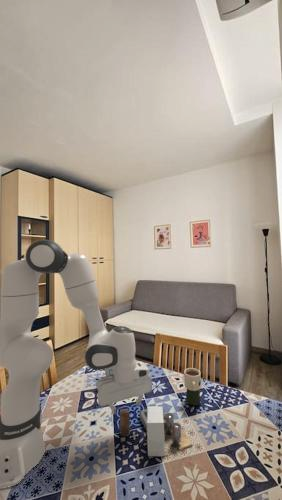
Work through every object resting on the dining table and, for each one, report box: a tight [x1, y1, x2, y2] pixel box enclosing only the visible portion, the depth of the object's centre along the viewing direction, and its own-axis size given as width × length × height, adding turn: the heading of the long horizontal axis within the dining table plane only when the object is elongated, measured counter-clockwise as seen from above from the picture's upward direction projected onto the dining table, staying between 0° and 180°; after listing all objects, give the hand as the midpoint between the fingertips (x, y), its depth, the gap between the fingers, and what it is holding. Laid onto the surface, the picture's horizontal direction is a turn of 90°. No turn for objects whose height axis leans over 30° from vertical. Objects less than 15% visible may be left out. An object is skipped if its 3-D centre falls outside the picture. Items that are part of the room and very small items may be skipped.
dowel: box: [119, 408, 131, 437], centre depth 78 cm, size 4×4×7 cm
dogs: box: [165, 412, 193, 451], centre depth 75 cm, size 6×10×6 cm, turn 20°
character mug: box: [183, 367, 202, 406], centre depth 93 cm, size 11×7×13 cm, turn 173°
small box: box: [146, 405, 166, 457], centre depth 72 cm, size 8×6×10 cm
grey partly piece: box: [139, 404, 167, 432], centre depth 82 cm, size 9×9×2 cm
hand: (126, 408), depth 78 cm, fingers open, 8 cm apart
